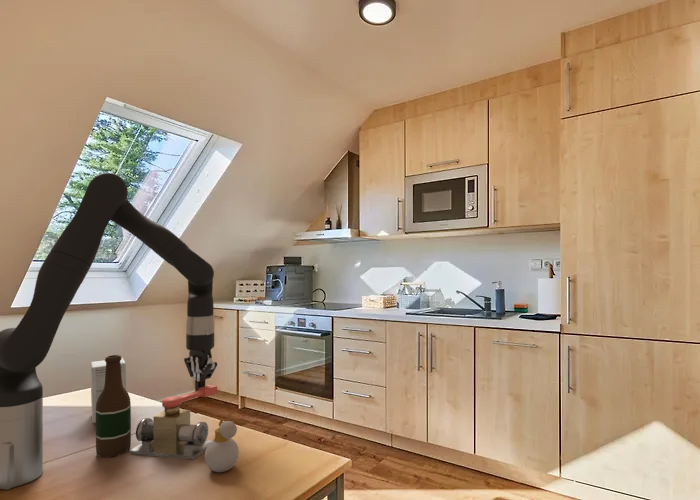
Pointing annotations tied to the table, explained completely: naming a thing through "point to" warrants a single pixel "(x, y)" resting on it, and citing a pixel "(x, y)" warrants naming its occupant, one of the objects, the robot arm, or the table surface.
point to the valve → (171, 435)
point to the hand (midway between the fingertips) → (200, 393)
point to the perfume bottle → (222, 448)
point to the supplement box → (101, 381)
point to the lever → (189, 396)
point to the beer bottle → (113, 413)
